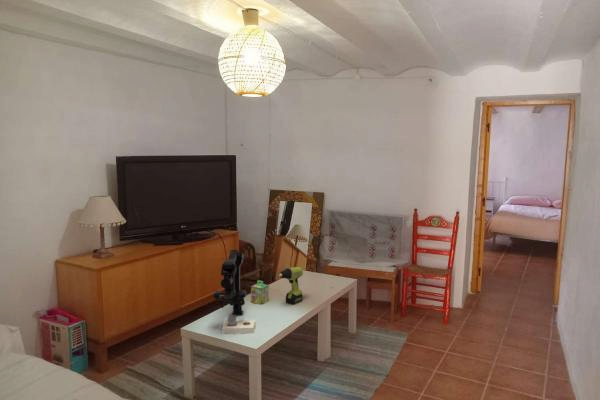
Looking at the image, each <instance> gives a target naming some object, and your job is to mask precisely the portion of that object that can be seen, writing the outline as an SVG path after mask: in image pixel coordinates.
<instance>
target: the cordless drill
mask: <svg viewBox="0 0 600 400" xmlns="http://www.w3.org/2000/svg"><path fill="white" fill-rule="evenodd" d="M303 275H304V270H303V268H302V267H301V266H296V267H288V268H285V269H284V270H281V271H280V272H279V274H278V276H279V277H280V278H282V279H287V280H288V283H289V284H291V289H290V290H289V291H288V292H287V293H286V296H285V304H287V303H288V305H291V306H292V305H293V306H295V305H297V304H299V303H301V302H303V290H301V289H300V288H299V280H298V279H299V278H300V277H303Z"/></svg>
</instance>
